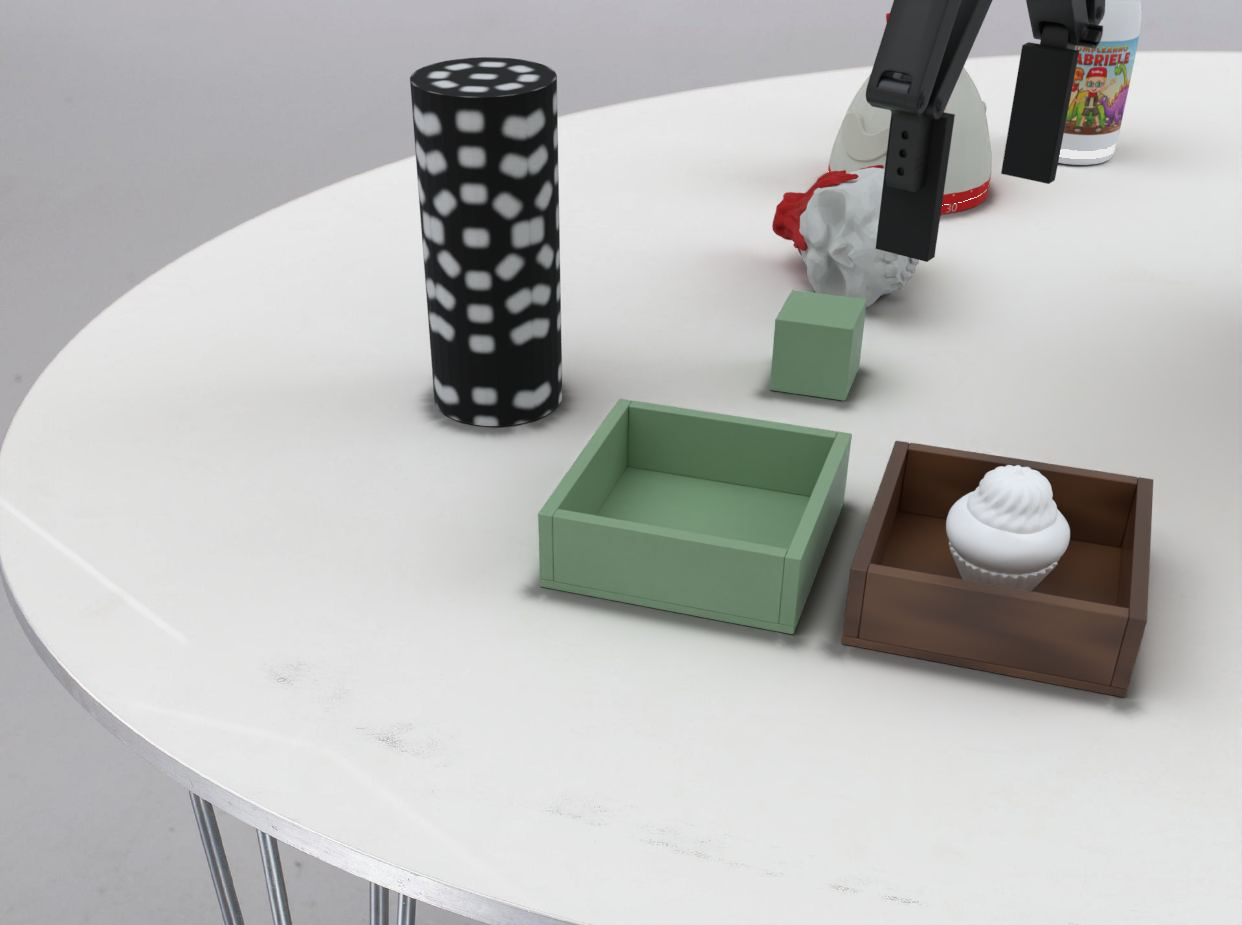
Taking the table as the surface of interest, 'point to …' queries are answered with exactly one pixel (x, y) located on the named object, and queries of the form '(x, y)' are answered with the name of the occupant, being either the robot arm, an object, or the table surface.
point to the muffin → (1008, 529)
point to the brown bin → (994, 615)
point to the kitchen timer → (969, 148)
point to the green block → (817, 344)
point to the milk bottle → (1102, 83)
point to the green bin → (696, 514)
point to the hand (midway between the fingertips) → (969, 213)
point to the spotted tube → (490, 236)
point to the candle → (843, 235)
